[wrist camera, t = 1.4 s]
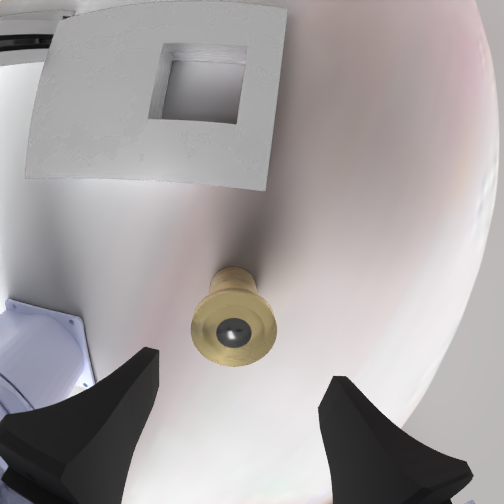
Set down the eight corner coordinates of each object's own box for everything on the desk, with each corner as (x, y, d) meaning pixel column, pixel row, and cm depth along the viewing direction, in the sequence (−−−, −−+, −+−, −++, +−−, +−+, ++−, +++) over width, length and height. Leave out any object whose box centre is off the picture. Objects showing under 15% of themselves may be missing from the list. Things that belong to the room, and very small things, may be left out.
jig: (48, 176, 17) (25, 178, 14) (76, 34, 14) (59, 20, 11) (260, 189, 18) (265, 191, 15) (280, 29, 15) (287, 9, 12)
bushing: (200, 313, 20) (189, 363, 14) (203, 255, 19) (192, 289, 13) (260, 318, 21) (270, 369, 15) (268, 261, 20) (283, 298, 14)
